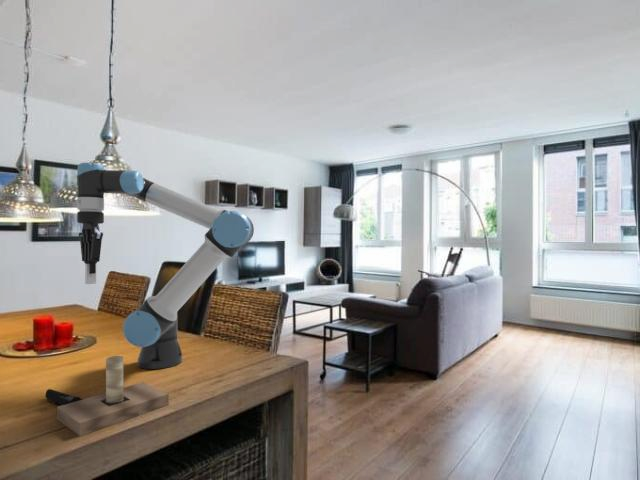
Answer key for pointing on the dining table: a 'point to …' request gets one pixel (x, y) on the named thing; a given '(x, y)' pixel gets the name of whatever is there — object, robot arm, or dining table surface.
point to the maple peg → (114, 380)
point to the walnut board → (110, 408)
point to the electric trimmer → (60, 397)
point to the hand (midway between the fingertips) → (90, 283)
